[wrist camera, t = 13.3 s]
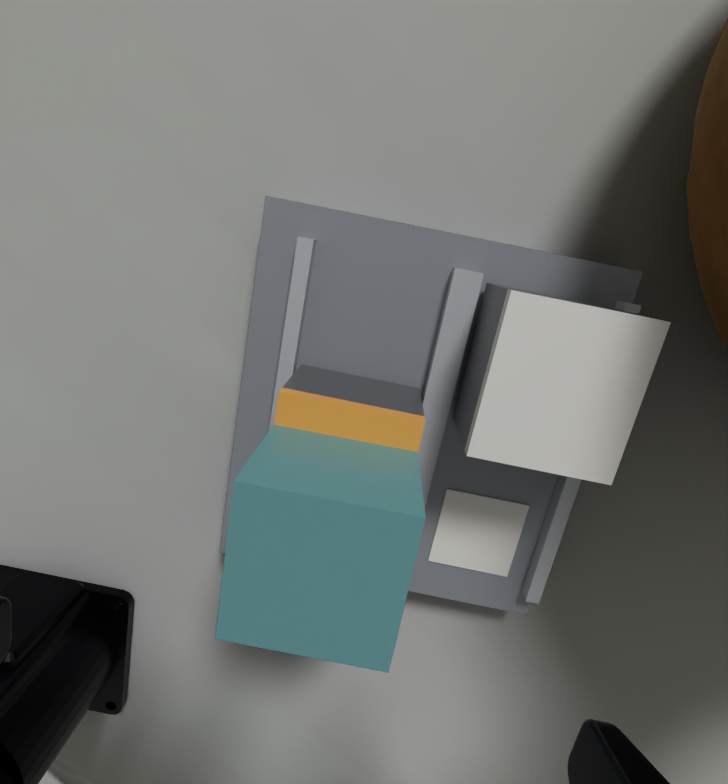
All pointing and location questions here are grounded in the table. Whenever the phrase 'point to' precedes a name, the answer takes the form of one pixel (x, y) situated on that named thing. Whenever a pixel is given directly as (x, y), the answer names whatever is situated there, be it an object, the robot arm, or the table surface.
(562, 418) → the block
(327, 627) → the teal cube
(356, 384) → the block
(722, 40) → the ceramic pitcher
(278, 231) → the breaker panel
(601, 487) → the table surface
